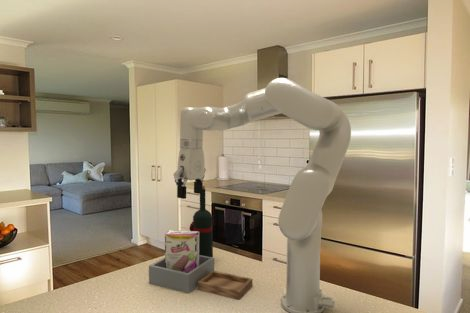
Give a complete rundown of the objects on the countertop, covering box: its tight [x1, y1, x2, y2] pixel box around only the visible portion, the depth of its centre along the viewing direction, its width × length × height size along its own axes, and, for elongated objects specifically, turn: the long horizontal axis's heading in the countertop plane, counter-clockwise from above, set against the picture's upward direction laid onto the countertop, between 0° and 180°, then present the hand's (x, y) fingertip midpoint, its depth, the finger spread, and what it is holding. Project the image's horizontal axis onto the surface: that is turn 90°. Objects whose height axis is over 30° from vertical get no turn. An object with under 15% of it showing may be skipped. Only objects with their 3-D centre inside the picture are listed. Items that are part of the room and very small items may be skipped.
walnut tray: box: [196, 270, 253, 301], centre depth 110 cm, size 15×10×2 cm, turn 64°
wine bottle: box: [189, 185, 214, 258], centre depth 131 cm, size 8×10×30 cm
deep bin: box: [148, 255, 215, 294], centre depth 116 cm, size 16×16×6 cm
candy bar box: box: [164, 229, 199, 273], centre depth 116 cm, size 11×5×16 cm, turn 84°
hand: (190, 195), depth 113 cm, fingers open, 9 cm apart
